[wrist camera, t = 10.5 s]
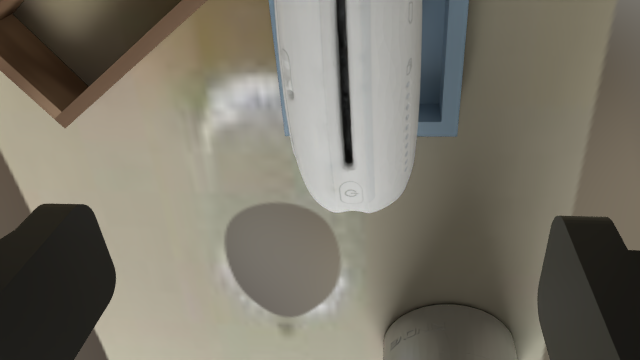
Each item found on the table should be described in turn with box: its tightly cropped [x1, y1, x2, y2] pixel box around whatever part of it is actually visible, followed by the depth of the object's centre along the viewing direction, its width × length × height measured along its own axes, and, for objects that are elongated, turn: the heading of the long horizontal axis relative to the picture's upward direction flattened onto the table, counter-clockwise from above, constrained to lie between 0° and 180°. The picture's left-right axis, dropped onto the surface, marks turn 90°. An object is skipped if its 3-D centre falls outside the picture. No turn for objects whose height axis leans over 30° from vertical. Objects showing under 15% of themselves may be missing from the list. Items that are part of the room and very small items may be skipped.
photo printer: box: [274, 0, 422, 213], centre depth 19 cm, size 10×4×12 cm, turn 5°
